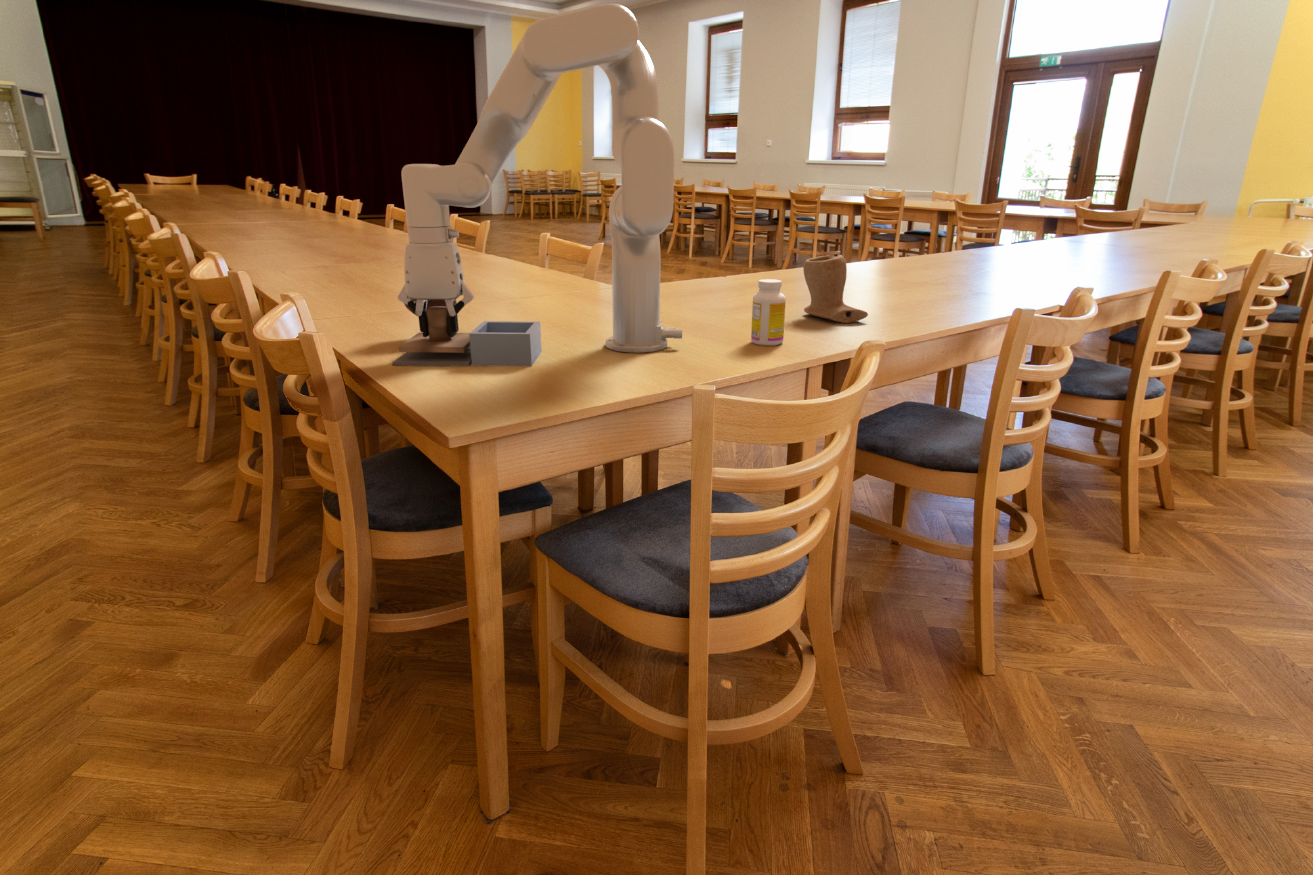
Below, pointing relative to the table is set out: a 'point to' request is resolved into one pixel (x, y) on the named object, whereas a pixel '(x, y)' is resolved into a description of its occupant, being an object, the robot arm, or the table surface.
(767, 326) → the supplement bottle
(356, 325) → the table surface
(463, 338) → the lid
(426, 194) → the robot arm
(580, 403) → the table surface
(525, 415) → the table surface
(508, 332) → the open box
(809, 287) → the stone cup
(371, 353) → the table surface
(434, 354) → the mat
